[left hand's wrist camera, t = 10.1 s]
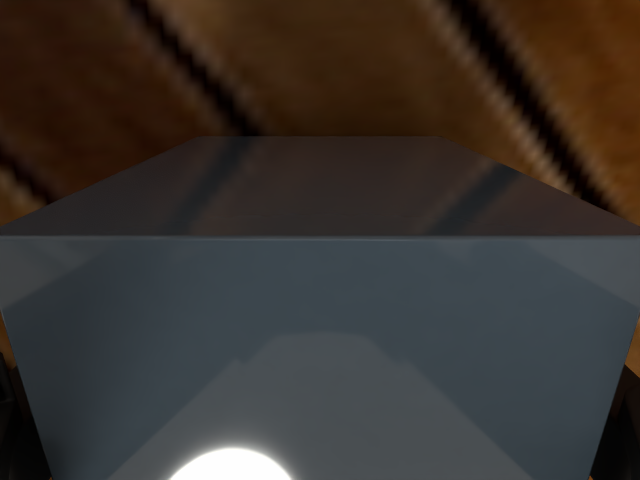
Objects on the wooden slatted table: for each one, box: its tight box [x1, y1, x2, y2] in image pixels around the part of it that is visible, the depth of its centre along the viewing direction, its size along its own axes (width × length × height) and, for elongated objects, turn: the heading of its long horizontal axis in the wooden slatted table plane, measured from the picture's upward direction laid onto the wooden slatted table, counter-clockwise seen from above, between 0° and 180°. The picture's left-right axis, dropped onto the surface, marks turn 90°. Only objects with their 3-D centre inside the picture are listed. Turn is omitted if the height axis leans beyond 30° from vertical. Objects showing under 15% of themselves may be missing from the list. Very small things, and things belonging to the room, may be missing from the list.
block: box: [0, 136, 640, 480], centre depth 11 cm, size 8×9×10 cm
